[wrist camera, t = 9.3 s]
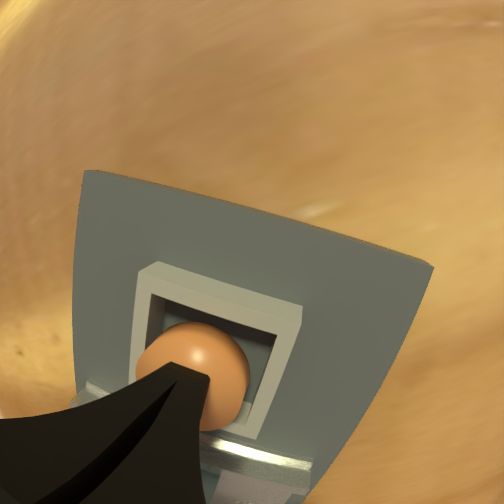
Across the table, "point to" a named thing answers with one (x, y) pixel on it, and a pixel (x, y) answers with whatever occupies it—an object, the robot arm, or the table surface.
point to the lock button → (203, 367)
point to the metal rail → (237, 464)
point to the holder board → (254, 279)
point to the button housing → (225, 306)
